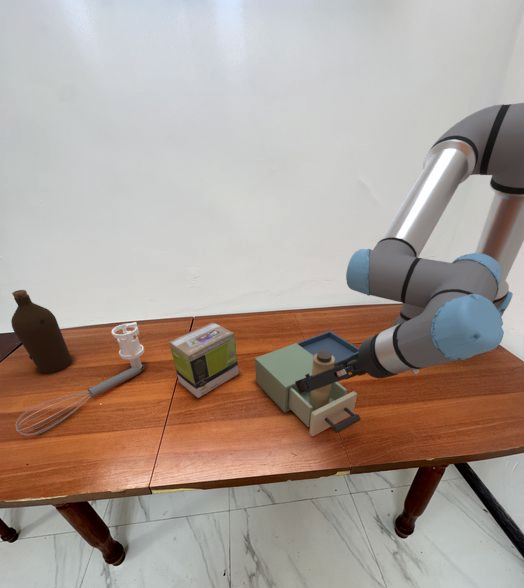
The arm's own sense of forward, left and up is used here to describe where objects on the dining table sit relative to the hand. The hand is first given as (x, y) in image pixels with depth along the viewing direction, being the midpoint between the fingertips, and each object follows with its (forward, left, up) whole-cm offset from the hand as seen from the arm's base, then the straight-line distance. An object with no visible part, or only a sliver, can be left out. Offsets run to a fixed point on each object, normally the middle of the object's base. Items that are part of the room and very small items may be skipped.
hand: (322, 376), depth 68 cm
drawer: (0, +1, -11) cm, 11 cm away
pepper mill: (0, 0, -10) cm, 10 cm away
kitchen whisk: (+49, -37, -12) cm, 63 cm away
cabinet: (0, -12, -12) cm, 17 cm away
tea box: (+18, -28, -12) cm, 35 cm away
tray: (-19, -19, -12) cm, 29 cm away
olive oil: (+57, -62, -12) cm, 85 cm away
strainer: (+35, -46, -12) cm, 59 cm away
